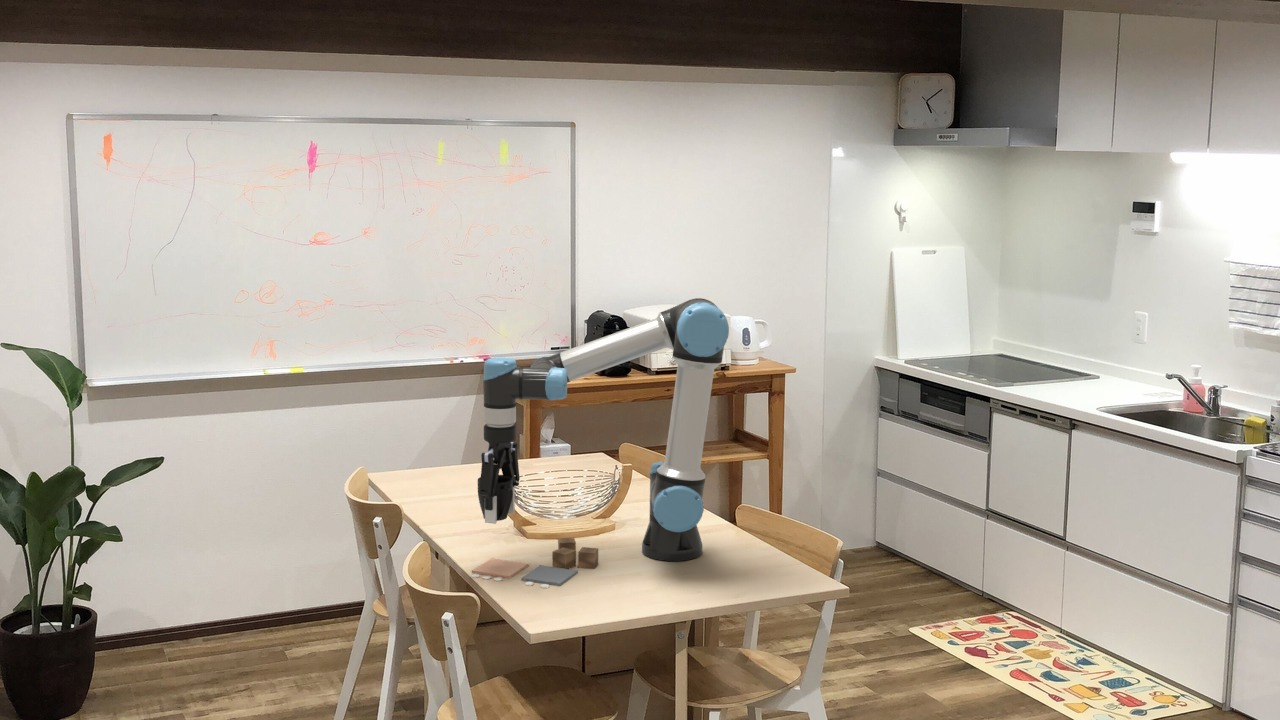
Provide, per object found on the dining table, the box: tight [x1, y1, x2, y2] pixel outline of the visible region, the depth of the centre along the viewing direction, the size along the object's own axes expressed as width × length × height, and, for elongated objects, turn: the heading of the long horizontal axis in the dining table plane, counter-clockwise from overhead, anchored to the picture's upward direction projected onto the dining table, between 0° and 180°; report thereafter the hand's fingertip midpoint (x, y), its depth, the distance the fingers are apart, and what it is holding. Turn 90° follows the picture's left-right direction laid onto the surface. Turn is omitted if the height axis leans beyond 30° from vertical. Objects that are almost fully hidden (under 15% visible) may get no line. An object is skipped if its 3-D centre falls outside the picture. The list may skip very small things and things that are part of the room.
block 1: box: [557, 537, 577, 552], centre depth 304 cm, size 4×4×4 cm
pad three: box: [470, 557, 530, 582], centre depth 292 cm, size 10×13×1 cm
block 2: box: [551, 547, 577, 569], centre depth 296 cm, size 4×4×4 cm
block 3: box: [577, 546, 599, 570], centre depth 297 cm, size 4×4×4 cm
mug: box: [477, 474, 513, 522], centre depth 290 cm, size 8×12×10 cm
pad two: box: [520, 564, 579, 589], centre depth 287 cm, size 10×13×1 cm
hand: (499, 517), depth 291 cm, fingers closed on mug, 8 cm apart
